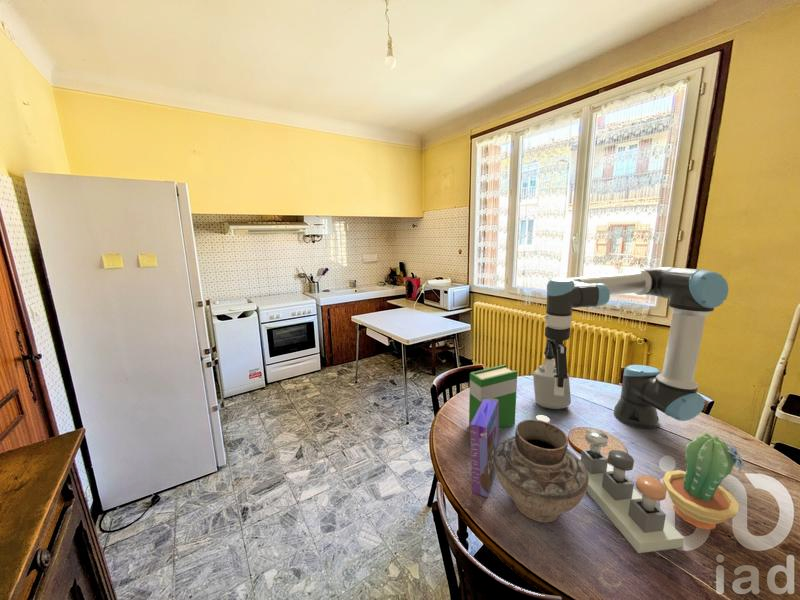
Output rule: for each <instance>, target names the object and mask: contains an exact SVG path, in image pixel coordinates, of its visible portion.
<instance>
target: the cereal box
mask: <svg viewBox="0 0 800 600" xmlns="http://www.w3.org/2000/svg"><path fill="white" fill-rule="evenodd" d="M469 428H470V429H469V430H470V456H471V457H470V459H471V462H470V463H471V489H472V490H471V491H472V494H475V495H477V494H478V496H481V497H484V498H487V499H488V498H489V495H490V492H491V490H492V485H493V483H494V479H495V477H496V471H495V467H494V460H493V454H494V450H495V448H496V446H497V445H498V444H499V443H500V429H499V399H494V398H490V397H484V399H483V401H482V403H481V405H480V407H479V409H478V410H477V412H476V414H475V416H474V418H473V420H472V422H471V424H470V426H469Z"/></svg>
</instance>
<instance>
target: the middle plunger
mask: <svg viewBox="0 0 800 600" xmlns="http://www.w3.org/2000/svg"><path fill="white" fill-rule="evenodd" d="M607 459H608V464H609V465H610V466H611V467H613V478H614V479H615V480H617V481H624V478H625V476H626V472H627V471H632V470H633V469H634V466H635V465H634V463H635V460H634V458H633V457H632V456H631V455H630V454H629V453H627V452H626V451H625V452H624V451H623V450H617V449H611V450H610V451H609V452H608V456H607Z"/></svg>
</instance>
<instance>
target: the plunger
mask: <svg viewBox="0 0 800 600" xmlns="http://www.w3.org/2000/svg"><path fill="white" fill-rule="evenodd" d="M584 439H585V441H586V442H587V443H589V444H590V446H589V449H590V455H592V456H593V457H599V456H600V452H601V448H604V447H606V446H608V441H609V437H608V435H607V434H606V433H604V432H603V431H602V430H601V431H600V430H598V429H592V428H591V429H587V430H586V431H585V438H584Z"/></svg>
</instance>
